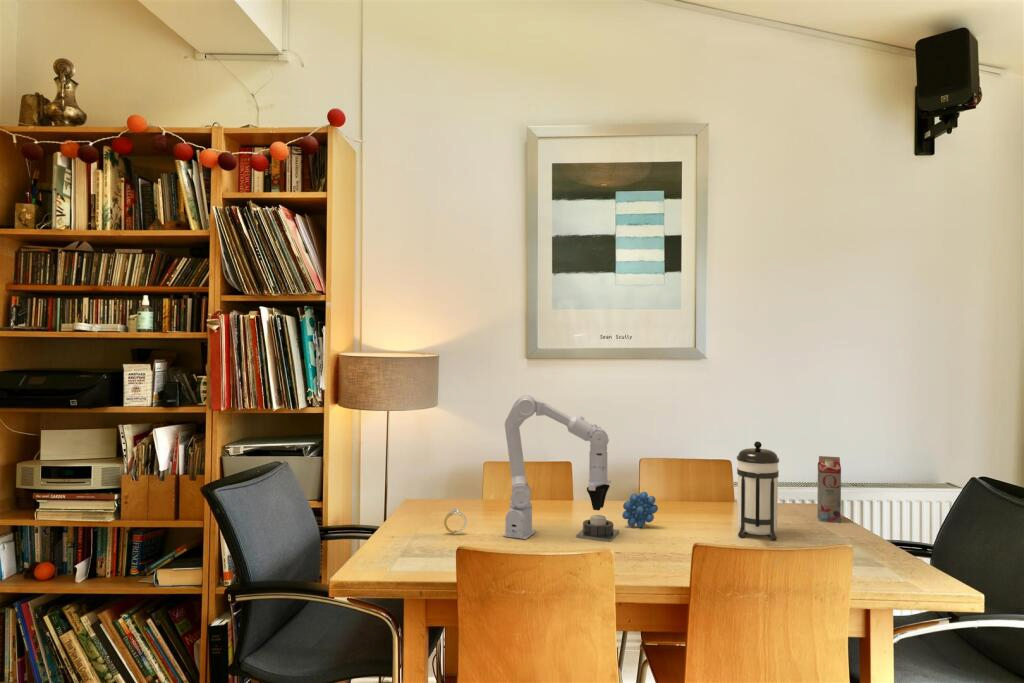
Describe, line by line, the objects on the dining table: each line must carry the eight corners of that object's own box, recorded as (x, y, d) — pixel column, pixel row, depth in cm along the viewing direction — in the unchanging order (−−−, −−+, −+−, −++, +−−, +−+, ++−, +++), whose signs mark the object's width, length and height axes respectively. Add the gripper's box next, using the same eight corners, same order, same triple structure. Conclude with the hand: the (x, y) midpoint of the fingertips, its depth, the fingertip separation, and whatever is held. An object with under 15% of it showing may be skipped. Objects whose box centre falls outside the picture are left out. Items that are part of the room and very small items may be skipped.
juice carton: (840, 523, 232) (841, 458, 232) (819, 521, 234) (819, 457, 234) (838, 518, 238) (838, 455, 238) (817, 516, 241) (817, 454, 240)
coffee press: (720, 531, 222) (720, 439, 221) (759, 526, 227) (760, 437, 227) (757, 546, 205) (757, 447, 205) (798, 541, 211) (799, 444, 211)
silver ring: (443, 535, 216) (443, 510, 216) (445, 532, 219) (445, 507, 219) (465, 535, 215) (465, 510, 215) (466, 533, 219) (466, 508, 219)
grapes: (657, 524, 229) (657, 489, 229) (658, 530, 222) (658, 493, 222) (622, 523, 231) (622, 487, 231) (622, 528, 224) (622, 492, 224)
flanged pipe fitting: (610, 541, 210) (610, 529, 210) (576, 537, 214) (576, 525, 214) (619, 532, 220) (619, 520, 220) (586, 528, 224) (586, 517, 224)
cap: (604, 535, 214) (604, 519, 214) (588, 533, 216) (588, 517, 216) (607, 531, 219) (607, 515, 219) (592, 529, 220) (592, 513, 220)
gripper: (604, 471, 209) (604, 515, 209) (616, 463, 222) (616, 504, 222) (582, 469, 211) (582, 512, 212) (595, 461, 225) (595, 502, 225)
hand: (598, 508), depth 217 cm, fingers open, 3 cm apart
